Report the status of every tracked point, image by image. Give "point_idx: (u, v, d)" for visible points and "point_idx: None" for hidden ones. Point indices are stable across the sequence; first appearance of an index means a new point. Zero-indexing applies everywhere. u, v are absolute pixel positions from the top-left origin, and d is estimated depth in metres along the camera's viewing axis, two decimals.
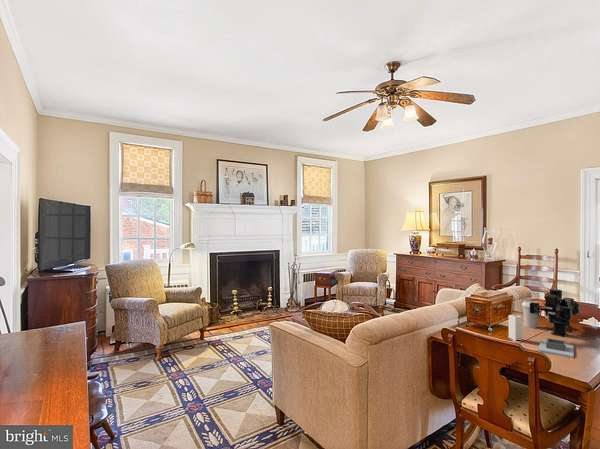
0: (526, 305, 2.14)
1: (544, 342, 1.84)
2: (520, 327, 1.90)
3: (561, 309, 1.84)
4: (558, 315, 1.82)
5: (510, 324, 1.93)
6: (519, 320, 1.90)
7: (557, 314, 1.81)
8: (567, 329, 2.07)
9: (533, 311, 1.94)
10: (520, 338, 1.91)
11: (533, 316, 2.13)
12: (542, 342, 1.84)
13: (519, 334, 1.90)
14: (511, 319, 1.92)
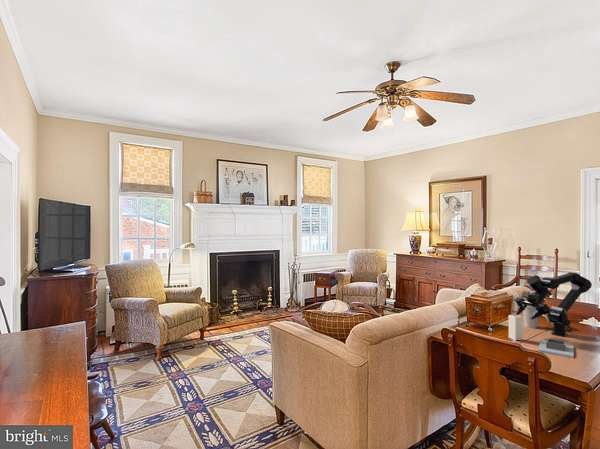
0: None
1: (544, 342, 1.84)
2: (520, 327, 1.90)
3: (537, 308, 1.89)
4: (535, 316, 1.89)
5: (510, 324, 1.93)
6: (519, 320, 1.90)
7: (533, 317, 1.89)
8: (567, 329, 2.07)
9: None
10: (520, 338, 1.91)
11: None
12: (542, 342, 1.84)
13: (519, 334, 1.90)
14: (511, 319, 1.92)
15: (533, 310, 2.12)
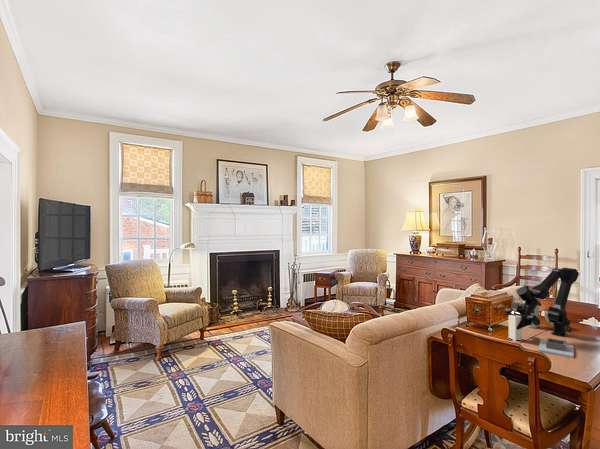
0: None
1: (544, 342, 1.84)
2: None
3: (522, 318, 1.89)
4: (521, 327, 1.89)
5: (510, 324, 1.93)
6: (519, 320, 1.90)
7: (519, 327, 1.89)
8: (566, 329, 2.07)
9: None
10: (520, 338, 1.91)
11: None
12: (542, 342, 1.84)
13: (519, 334, 1.90)
14: (511, 319, 1.92)
15: None
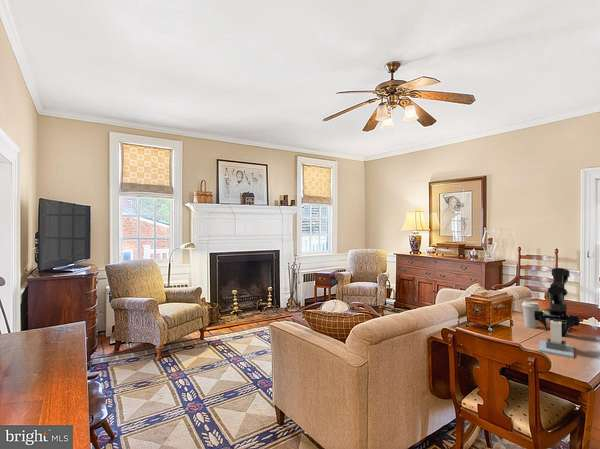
0: (526, 305, 2.14)
1: (544, 342, 1.84)
2: (561, 334, 1.76)
3: (568, 321, 1.75)
4: (567, 330, 1.74)
5: (553, 332, 1.76)
6: (561, 326, 1.76)
7: (567, 331, 1.74)
8: None
9: (540, 320, 1.84)
10: None
11: (533, 316, 2.13)
12: (542, 342, 1.84)
13: (561, 341, 1.76)
14: (555, 326, 1.75)
15: (533, 310, 2.12)
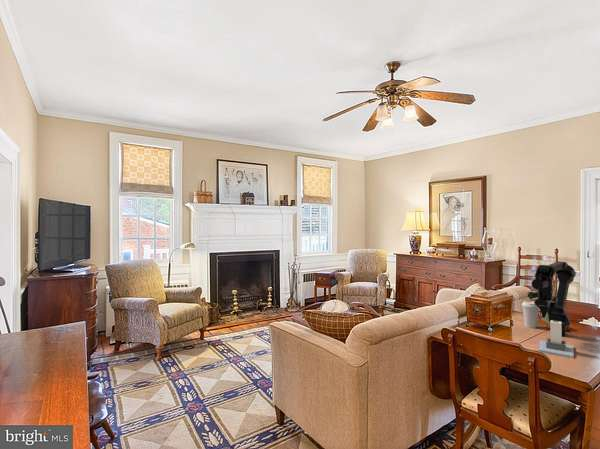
0: (526, 305, 2.14)
1: (544, 342, 1.84)
2: (561, 334, 1.77)
3: None
4: (544, 314, 1.88)
5: (553, 332, 1.76)
6: (561, 326, 1.76)
7: (543, 315, 1.89)
8: None
9: None
10: None
11: (533, 316, 2.13)
12: (542, 342, 1.84)
13: (561, 341, 1.76)
14: (555, 326, 1.75)
15: (533, 310, 2.12)
